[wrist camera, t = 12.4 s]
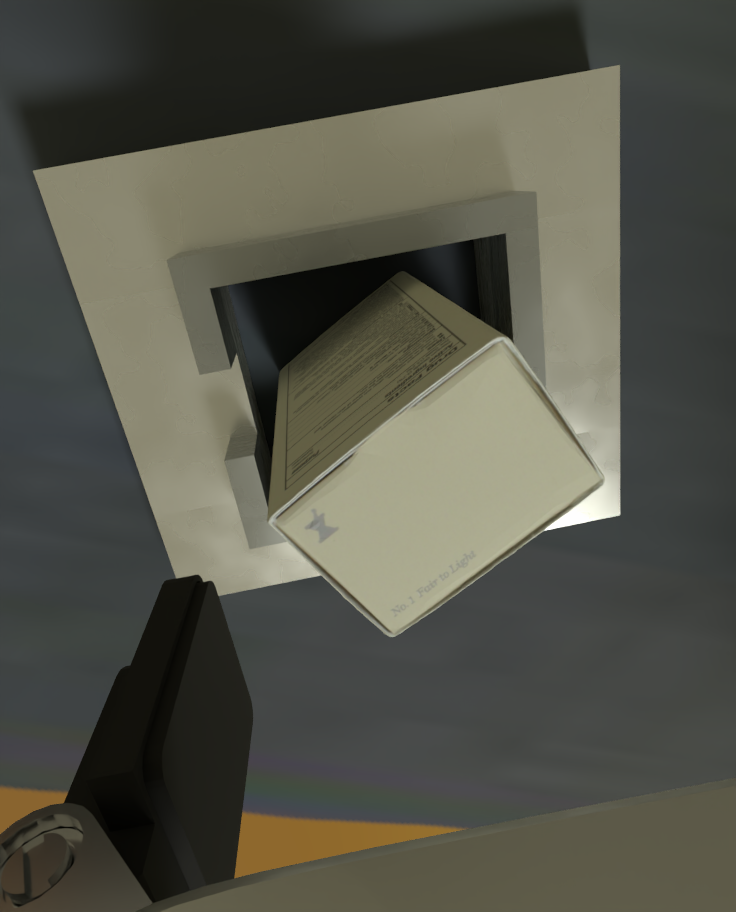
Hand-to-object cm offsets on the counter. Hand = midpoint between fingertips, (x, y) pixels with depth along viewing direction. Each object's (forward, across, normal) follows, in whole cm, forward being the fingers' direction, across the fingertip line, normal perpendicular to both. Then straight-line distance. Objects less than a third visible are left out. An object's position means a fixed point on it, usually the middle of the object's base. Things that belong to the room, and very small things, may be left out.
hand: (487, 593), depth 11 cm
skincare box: (+15, +1, -1) cm, 15 cm away
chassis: (+15, +1, -1) cm, 15 cm away
